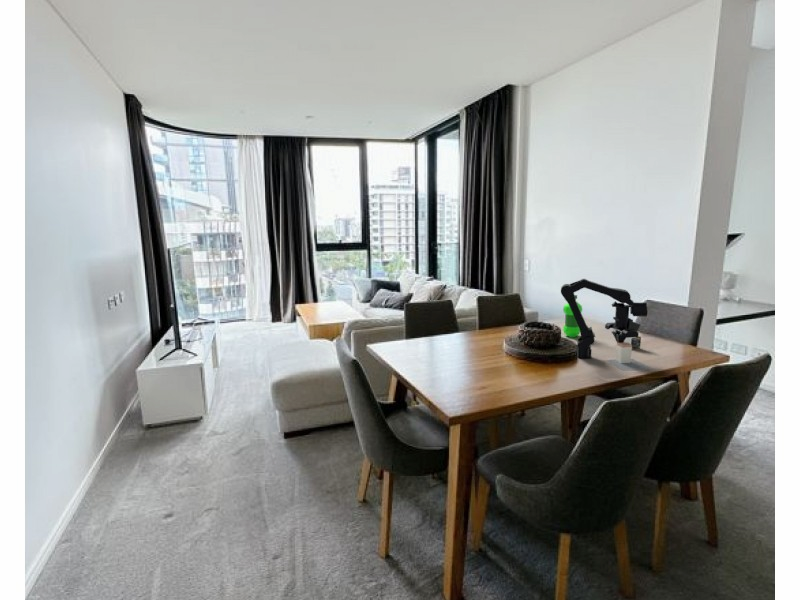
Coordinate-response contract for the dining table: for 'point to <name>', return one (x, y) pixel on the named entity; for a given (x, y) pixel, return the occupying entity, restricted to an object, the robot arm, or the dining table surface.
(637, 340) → the medicine bottle
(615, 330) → the robot arm
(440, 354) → the dining table surface
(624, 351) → the cream block
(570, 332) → the plastic bottle
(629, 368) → the gray mat
